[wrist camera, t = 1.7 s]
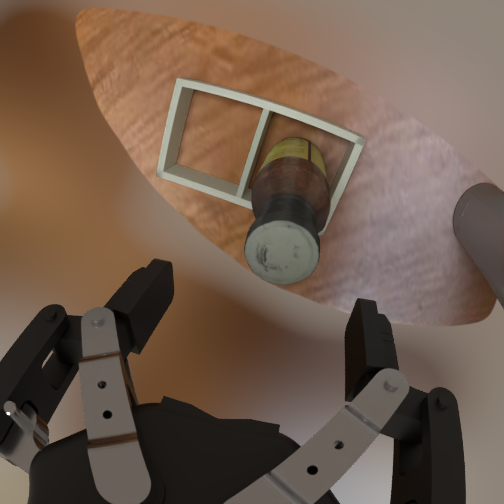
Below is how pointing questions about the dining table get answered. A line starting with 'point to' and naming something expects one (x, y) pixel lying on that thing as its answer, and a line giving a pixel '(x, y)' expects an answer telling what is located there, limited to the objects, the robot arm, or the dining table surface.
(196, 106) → the dining table surface
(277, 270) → the sauce bottle
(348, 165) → the corral
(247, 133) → the dining table surface
